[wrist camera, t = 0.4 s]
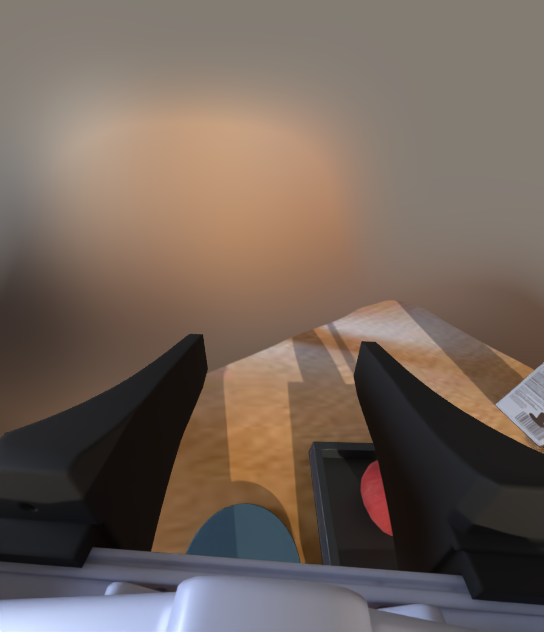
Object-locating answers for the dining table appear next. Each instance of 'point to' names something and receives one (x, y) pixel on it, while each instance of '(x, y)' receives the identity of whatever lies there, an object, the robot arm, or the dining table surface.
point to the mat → (245, 536)
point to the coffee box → (527, 405)
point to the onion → (375, 497)
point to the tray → (347, 508)
